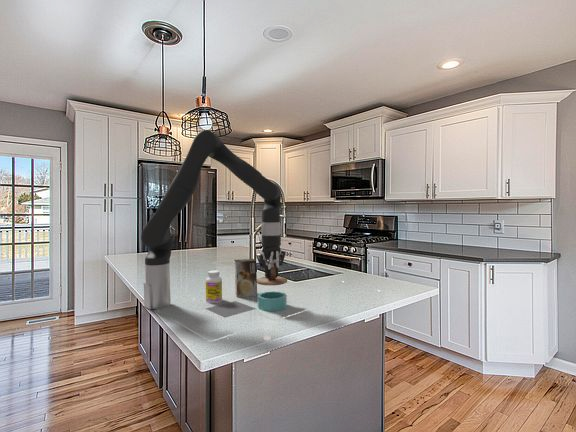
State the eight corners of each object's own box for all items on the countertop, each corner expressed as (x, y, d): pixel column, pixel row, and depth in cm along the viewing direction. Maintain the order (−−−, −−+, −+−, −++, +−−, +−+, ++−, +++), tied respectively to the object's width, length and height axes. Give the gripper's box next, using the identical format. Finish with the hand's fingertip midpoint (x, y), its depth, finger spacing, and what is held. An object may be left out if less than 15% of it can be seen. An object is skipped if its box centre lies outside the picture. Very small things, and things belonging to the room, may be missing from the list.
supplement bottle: (205, 304, 133) (204, 273, 133) (206, 300, 140) (205, 270, 139) (222, 303, 135) (221, 272, 134) (222, 299, 141) (221, 269, 141)
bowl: (270, 314, 121) (270, 301, 120) (252, 307, 129) (252, 295, 128) (291, 307, 128) (291, 295, 128) (273, 301, 136) (273, 290, 136)
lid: (270, 287, 119) (270, 271, 119) (250, 281, 128) (250, 267, 128) (293, 281, 128) (293, 266, 128) (273, 276, 136) (273, 263, 136)
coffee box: (255, 293, 150) (254, 258, 150) (257, 296, 144) (256, 260, 144) (234, 294, 148) (234, 259, 147) (236, 298, 142) (235, 261, 141)
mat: (224, 318, 116) (224, 317, 116) (205, 309, 127) (205, 308, 127) (256, 309, 126) (256, 308, 126) (235, 302, 136) (235, 301, 136)
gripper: (263, 235, 120) (263, 282, 120) (290, 233, 129) (291, 276, 130) (250, 234, 125) (251, 279, 126) (278, 232, 135) (278, 273, 135)
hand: (271, 277), depth 128 cm, fingers closed on lid, 3 cm apart
